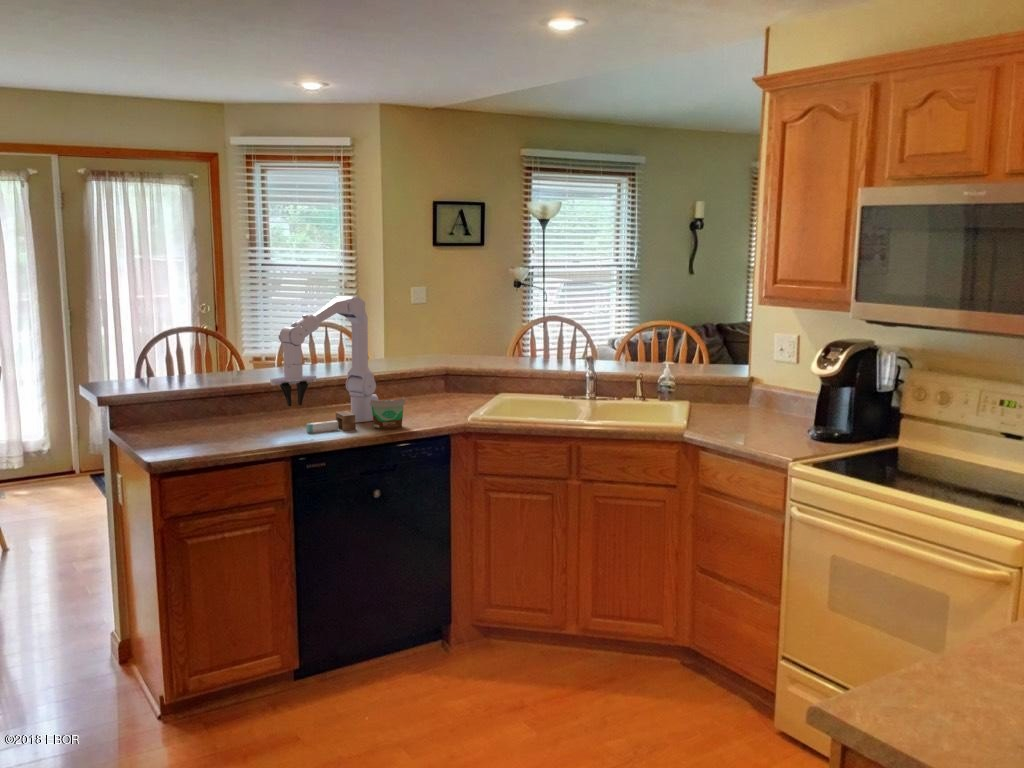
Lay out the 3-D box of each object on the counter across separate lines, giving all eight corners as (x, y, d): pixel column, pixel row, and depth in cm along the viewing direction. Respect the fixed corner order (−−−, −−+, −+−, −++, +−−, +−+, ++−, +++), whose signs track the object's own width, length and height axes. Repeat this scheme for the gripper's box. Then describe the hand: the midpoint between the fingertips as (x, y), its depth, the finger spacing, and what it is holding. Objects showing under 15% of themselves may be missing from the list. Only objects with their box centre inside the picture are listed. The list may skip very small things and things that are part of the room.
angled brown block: (347, 425, 296) (346, 410, 295) (355, 429, 289) (355, 414, 289) (336, 426, 294) (335, 412, 293) (344, 430, 287) (343, 416, 287)
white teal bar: (335, 428, 291) (335, 420, 291) (338, 430, 289) (338, 421, 289) (306, 431, 286) (306, 423, 286) (309, 433, 284) (308, 424, 284)
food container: (376, 432, 285) (375, 402, 283) (370, 429, 290) (369, 399, 289) (411, 428, 290) (410, 399, 289) (404, 425, 296) (404, 396, 294)
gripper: (273, 366, 273) (275, 409, 275) (318, 363, 280) (320, 405, 282) (267, 364, 279) (269, 405, 281) (312, 361, 286) (313, 401, 288)
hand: (294, 405), depth 282 cm, fingers open, 3 cm apart
